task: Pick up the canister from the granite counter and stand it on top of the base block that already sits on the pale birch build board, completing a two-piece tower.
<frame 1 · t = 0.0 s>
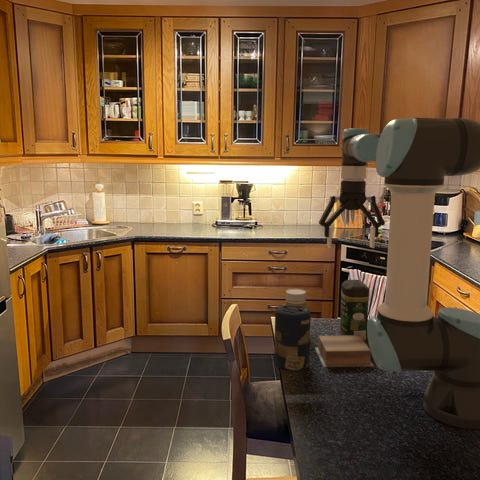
hand: (350, 247, 153), 28 cm above the kitchen island, fingers open, 13 cm apart
canister: (291, 368, 131), on the kitchen island
base block: (343, 356, 135), point 1 cm above the kitchen island, touching build board
coffee jar: (352, 339, 152), on the kitchen island
build board: (340, 362, 135), on the kitchen island
bottle: (294, 337, 153), on the kitchen island
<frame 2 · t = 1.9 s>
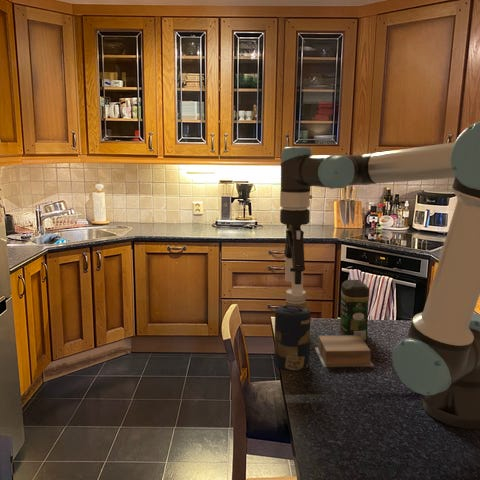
hand: (293, 288, 127), 22 cm above the kitchen island, fingers open, 13 cm apart
nothing on the kitchen island moved.
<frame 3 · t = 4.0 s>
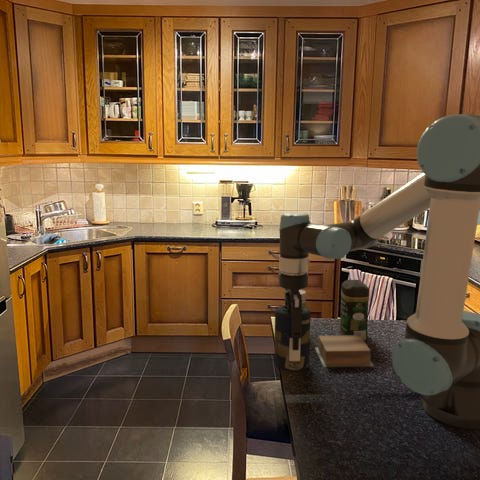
hand: (292, 352, 131), 5 cm above the kitchen island, fingers closed on canister, 9 cm apart
canister: (291, 368, 131), on the kitchen island, touching gripper
everything else where it was.
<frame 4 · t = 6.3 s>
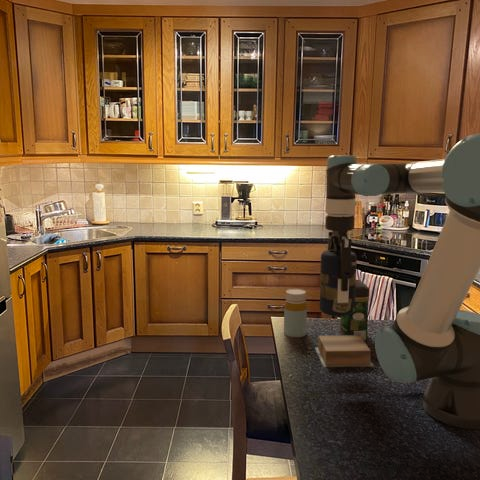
hand: (337, 296, 131), 19 cm above the kitchen island, fingers closed on canister, 9 cm apart
canister: (337, 313, 132), point 14 cm above the kitchen island, touching gripper
everything else where it was.
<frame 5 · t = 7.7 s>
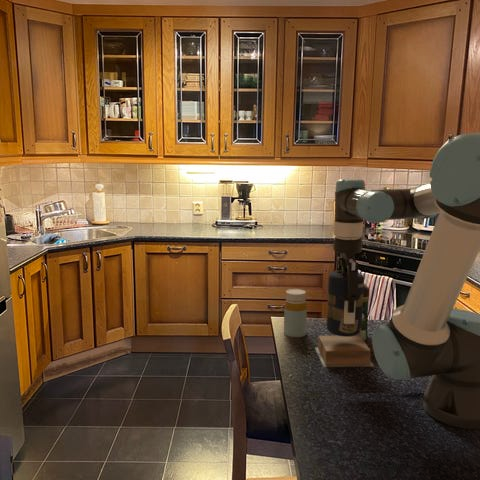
hand: (344, 316, 133), 13 cm above the kitchen island, fingers closed on canister, 9 cm apart
canister: (343, 333, 134), point 8 cm above the kitchen island, touching gripper
everything else where it was.
when the fingers open (11 cm above the kitchen island, at t = 8.6 s): canister stays where it is, resting on base block.
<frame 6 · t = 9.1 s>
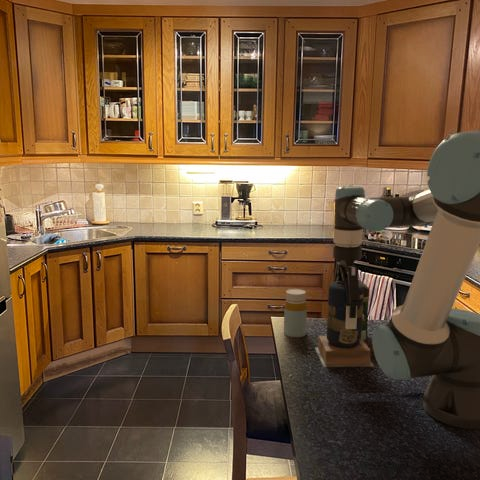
hand: (344, 319, 133), 12 cm above the kitchen island, fingers open, 13 cm apart
canister: (343, 343, 135), point 5 cm above the kitchen island, touching base block
base block: (343, 356, 135), point 1 cm above the kitchen island, touching build board, canister
everything else where it was.
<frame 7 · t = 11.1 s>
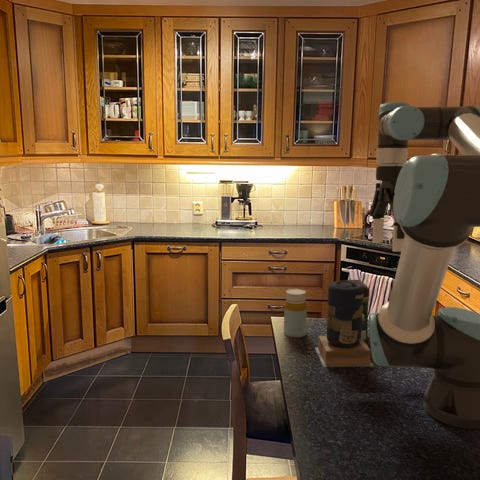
hand: (387, 246, 128), 33 cm above the kitchen island, fingers open, 13 cm apart
nothing on the kitchen island moved.
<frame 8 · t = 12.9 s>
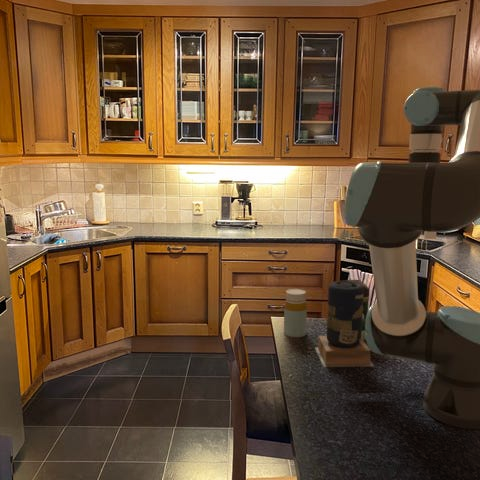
hand: (419, 234, 126), 37 cm above the kitchen island, fingers open, 13 cm apart
nothing on the kitchen island moved.
at the end: canister inside the target area on the base block (0.0 cm from its centre), point 3.8 cm above the base block's base; canister tilted 0°; canister touching base block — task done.
